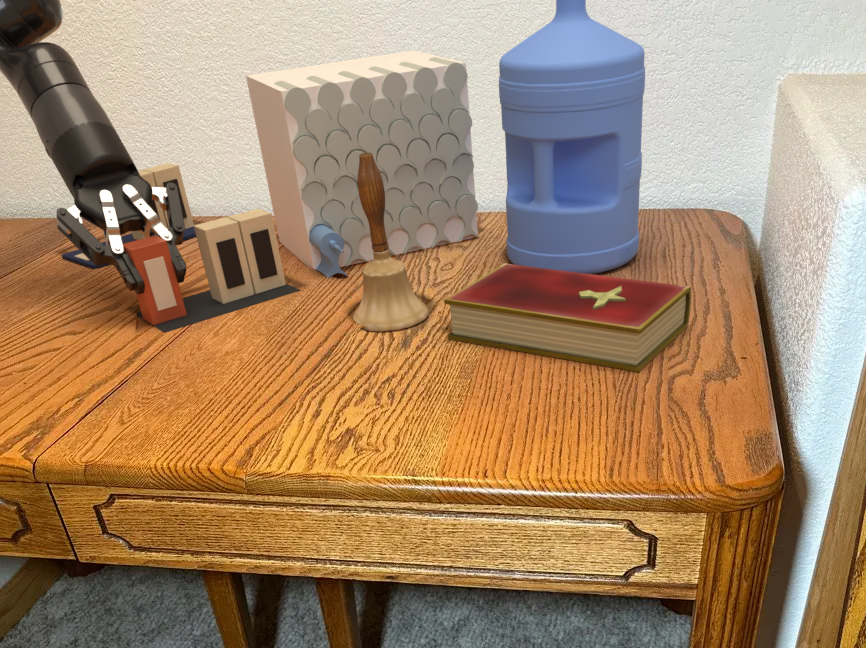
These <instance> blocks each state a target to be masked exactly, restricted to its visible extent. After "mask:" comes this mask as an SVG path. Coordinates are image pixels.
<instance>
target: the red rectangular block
mask: <svg viewBox="0 0 866 648" xmlns="http://www.w3.org/2000/svg"><path fill="white" fill-rule="evenodd" d="M123 248H124V252H125V254H126V253H128V255H129V256H130V258H131V260H132V262H133V264H134V265H135V267H136V269H137V270H138V272H139V274H140V275H141V277H142V279H143V281H144V284H145V290H144V293H143V294H139V295H137V294H136V292H135V291H134V293H135V296H136V300H137V302H138V305H139V310H141V312H142V315H143V319H145V320H146V321H145V320H144V321H145V322H147V321H148V322H150V323H151V324H153V325H157V324H160V323H163V322H166V321H170V320H173V319H176V318H179V317H183V316H186V315H187V313H186V309H185V306H184V302H183V299H182V298H183V295H182V292H181V288H180V283H178V281H177V278H176V274H175V271H174V267H173V264H172V260H171V256H170V252H169V248H168V245H167V241H166V240H164V239H162V238H159V237H157V236H152V237H148V238H144V239H140V240H136V241H132V242H128V243H125V244H123ZM143 319H142V320H143ZM148 322H147V323H148ZM150 323H149V324H150ZM151 324H150V325H151ZM153 325H152V326H153Z"/></svg>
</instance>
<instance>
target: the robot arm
mask: <svg viewBox="0 0 866 648" xmlns="http://www.w3.org/2000/svg"><path fill="white" fill-rule="evenodd" d="M63 18H64V15H63V8H62V3H61V0H0V73H1V74H2V75H3V77H5V78H6V80H7V81H8V82H9V84H10V85H11V87H12V88H13V89H14V91H15V92H16V94H17V95H18V97H19V99H20V101H21V103H22V104H23V106H24V108H25V109H26V111H27V113H28V115H29V117H30V119H31V120H32V122H33V124H34V126H35V129H36V131H37V133H38V137H39V139H40V141H41V143H42V145H43V146H44V150H45V152H46V154H47V157H49V159H51V161H52V163H53V165H54V166H55V169H57V171H58V173H59V176H60V177H61V178H62V180H63V182H64V184H65V186H66V187H67V190H68V191H69V193H70V195H71V196H72V198H73V202H74V204H73V205H72V206H70V207H69V208H64V207H59V208H57V209H56V226H57V229H58V231H59V232H60V233H61V234H62V235H63V236H64V237H65V238H67V239H68V240H69V242H70V243H72V244H73V246H75V247H76V248H77V250H78V249H79V250H80V251H81V252H82V253H83V254H84V255H85V256H86V257H87V258H88V259H90V260H91V261H92V262H93V263H94V264H95V265H97V266H101V265H103V264H104V263H106V264H110V265H111V266H113V267H114V268H115V269H116V270H117V272H118V275H119V276H120V278H121V280H122V281H123V283H124V285H125V286H126V289H128V290H129V291H130V292H132V291H134V293H135V292H136V293H135V295H136V294H137V295H139V294H143V293H144V290H145V284H144V281H143V279H142V277H141V275H140V274H139V272H138V270H137V269H136V267H135V265H134V264H133V262H132V260H131V258H130V256H129V255H128V253H126V254H125V252H124V248H123V243H122V239H121V236H124V235H126V233H128V232H131V231H140V232H141V233H142V235H143V236H144V237H145V238H148V237H152V236H157V237H159V238H162V239H164V240H166V241H167V245H168V248H169V252H170V256H171V260H172V264H173V267H174V271H175V274H176V278H177V281H178V284H181V283H184V282H185V277H186V274H187V263H186V261H185V260H184V258H183V256H182V254H181V253H180V250H179V249H178V247H177V246H180V245H182V244H183V243H184V241H183V235H184V231H185V225H184V220H183V214H182V209H181V203H180V198H179V193H178V187H177V185H176V184H174V183H171V182H170V183H167V185H166V188H164V187H151V185H150V184H149V183H148V182H147V181H146V180H144V179H143V178H142V177H141V176H140V174H139V172H138V171H139V170H138V168H137V166H136V165H135V162H134V161H133V158H132V157H131V155H130V153H129V152H128V150H127V148H126V145H125V144H124V143H123V140H122V139H121V138H120V136H119V134H118V132H117V130H116V128H115V127H114V125H113V123H112V121H111V120H110V117H109V116H108V114H107V113H106V111H105V109H104V108H103V106H102V105H101V104H100V102H99V101H98V100H97V98H96V97H95V95H94V93H93V92H92V89H90V87H89V85H88V83H87V82H86V79H85V78H84V76H83V75H82V73H81V71H80V69H79V67H78V66H77V64H76V62H75V60H74V59H73V56H72V55H70V53H69V52H68V51H67V50H66V49H65V48H64V47H62V46H61V45H59V44H57V43H53V42H47V41H43V40H44V39H46V38H48V37H49V36H51V35H52V34H53V33H55V32H56V31H58V29H60V27H61V26H62V23H63ZM42 41H43V42H42ZM152 199H153V200H156V201H157V202H158V203H159V206H160V207H161V208H162V210H164V211H167V217H168V222H169V228H170V229H169V230H168V229H167V228H166V227H165V226H164V225H163V224H162V223H161V221H160V220H159V217H158V215H157V214H156V213H155V212H154V211H153V210H152V209H151V202H152ZM83 220H85V221H86V222H88V223H90V224H92V225H94V226H95V227H97V228H99V229H100V230H102V234H103V237H104V242H105V241H106V245H107V246H106V245H103V244H102V243H101V241H100V240H99V239H98V238H97V237H96V236H95V235H93V233H92V232H91V231H89V230H88V228H87V227H85V225H84V224H83V223H84V222H83Z"/></svg>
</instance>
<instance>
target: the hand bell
mask: <svg viewBox="0 0 866 648" xmlns="http://www.w3.org/2000/svg"><path fill="white" fill-rule="evenodd" d="M357 184H358V192H359V197H360V201H361V204H362V208H363V210H364V212H365V215H366V217H367V219H368V222H369V227H370V234H371V243H372V249H373V255H374V259H373V260H370V261H369V262H368V263H367V264H366V265H364V267H363V268H362V280H363V281H362V282H363V283H362V296H361V300H360V302H359V306H358V307H357V309H356V310H355V311H354V313H353V314H352V315H353V316H352V320H353V321H354V322H355V323H357V324H358V325H360V326H362V327H360V328H359V329H360V330H364V331H368V332H376V333H377V332H378V333H380V332H381V333H383V332H392V331H393V332H395V331H399V330H404V329H408V328H411V327H415V326H417V325H418V324H421V323H422V322H424V321H425V320H426V319H427V318H428V317H429V313H430V310H429V308H428V307H427V305H426V304H425V303H424V302H423V301H422V300H420V299H419V298H418V296H417V295H416V294H415V292H414V290H413V289H412V285H411V283H410V281H409V277H408V274H407V269H406V266H405V264H404V263H403V262H402V261H401V260H399V259H395V258H393V256H390V251H389V248H388V243H387V237H386V232H385V226H384V211H385V191H384V185H383V180H382V177H381V174H380V171H379V169H378V167H377V165H376V163H375V161H374V158H373V155H372V153H362V154H360V155H359V169H358V178H357Z"/></svg>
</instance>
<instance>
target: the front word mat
mask: <svg viewBox="0 0 866 648" xmlns="http://www.w3.org/2000/svg"><path fill="white" fill-rule="evenodd" d="M274 224H275V223H274V219H273V215H272V213H271V212H270V211H267V210H264V209H261V208H256V209H252V210H249V211H244V212H241V213H237V214H236V213H235V214H232V215H229V216H228V217H226V216H225V217H221V218H217V219H214V220H210V221H205V222H202V223H197V224H194V229H195V233H196V237H195V238H196V240H197V245H198V249H199V252H200V256H201V260H202V264H203V267H204V272H205V275H206V280H207V284H208V287H209V290H205V291H202V292H199V293H195V294H191V295H189V296H188V295H187V296H185V297H182V299H183V302H184V306H185V309H186V313H187V315H186V316H183V317H179V318H176V319H173V320H170V321H166V322H163V323H160V324H157V325H153V324H151V323H150V322H148V321H146V320H145V319H143V315H142V312H141V309H139V310H137V311H136V316H137V317H138V318H140V319H142V320H144V321H145V322H147V324H150V325H152V326H153V327H154V328H156V329H158V330H159V331H160V332H162V333H164V334H166V333H169V332H171V331H175V330H178V329H182V328H185V327H188V326H191V325H194V324H198V323H201V322H205V321H207V320H211V319H215V318H217V317H220V316H223V315H226V314H230V313H234V312H236V311H239V310H243V309H246V308H249V307H253V306H255V305H259V304H262V303H265V302H269V301H272V300H275V299H278V298H281V297H285V296H288V295H291V294H294V293H298V292H300V291H301V289H299V288H297V287H295V286H293V285H291V284H289V283H287V282H286V278H285V273H284V268H283V262H282V258H281V253H280V250H279V248H280V247H279V244H278V239H277V234H276V230H275V225H274Z"/></svg>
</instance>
